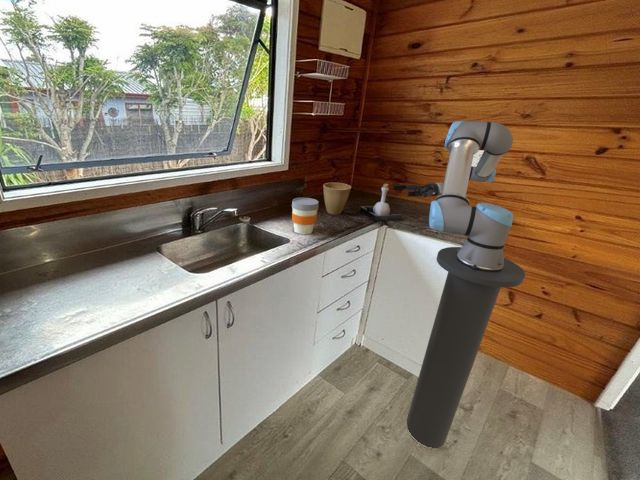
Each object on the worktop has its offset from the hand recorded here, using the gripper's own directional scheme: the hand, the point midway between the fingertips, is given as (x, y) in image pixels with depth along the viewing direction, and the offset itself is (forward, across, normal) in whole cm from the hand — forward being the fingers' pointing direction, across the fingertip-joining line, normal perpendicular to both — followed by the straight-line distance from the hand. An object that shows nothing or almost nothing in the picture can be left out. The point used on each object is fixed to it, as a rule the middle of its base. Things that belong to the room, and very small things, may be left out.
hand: (400, 190), depth 167 cm
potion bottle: (+9, 0, -14) cm, 17 cm away
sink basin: (+9, 0, -14) cm, 17 cm away
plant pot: (+34, +8, -14) cm, 38 cm away
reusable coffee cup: (+60, -16, -14) cm, 64 cm away
